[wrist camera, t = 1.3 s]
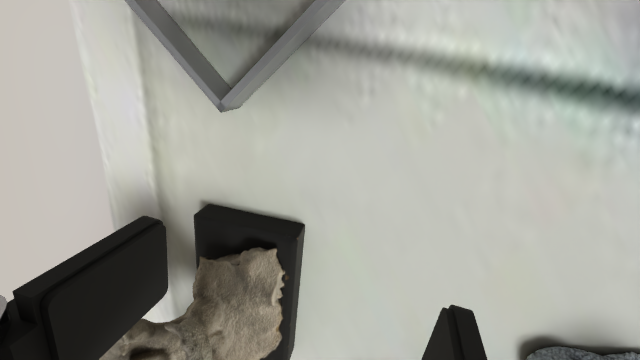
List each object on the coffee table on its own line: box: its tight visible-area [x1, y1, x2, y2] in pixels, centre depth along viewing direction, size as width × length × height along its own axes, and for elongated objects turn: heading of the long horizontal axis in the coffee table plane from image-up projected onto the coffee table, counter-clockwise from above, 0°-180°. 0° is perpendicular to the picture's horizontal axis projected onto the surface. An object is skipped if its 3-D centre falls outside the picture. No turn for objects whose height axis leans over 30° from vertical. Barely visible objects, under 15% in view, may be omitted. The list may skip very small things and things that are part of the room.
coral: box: [99, 204, 305, 360], centre depth 35 cm, size 25×20×22 cm
